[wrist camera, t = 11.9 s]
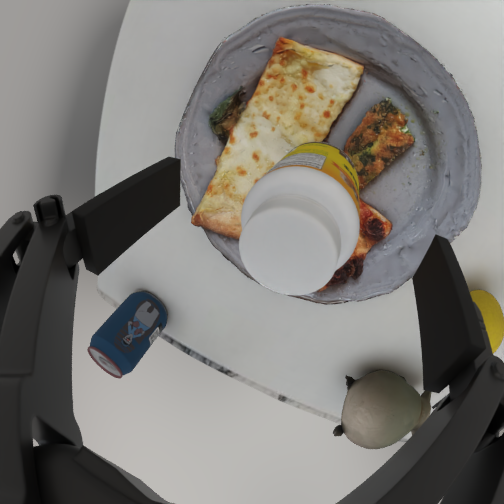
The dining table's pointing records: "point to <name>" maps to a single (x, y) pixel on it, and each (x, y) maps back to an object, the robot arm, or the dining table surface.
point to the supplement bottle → (301, 220)
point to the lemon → (490, 316)
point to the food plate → (334, 136)
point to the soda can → (128, 333)
